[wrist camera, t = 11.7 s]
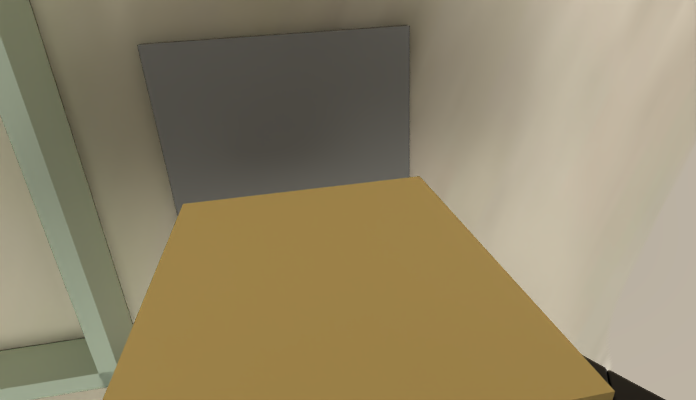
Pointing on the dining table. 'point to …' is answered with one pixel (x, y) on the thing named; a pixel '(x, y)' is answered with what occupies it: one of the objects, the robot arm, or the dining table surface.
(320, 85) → the rubber mat
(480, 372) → the letter block
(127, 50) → the dining table surface
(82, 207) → the sage tray
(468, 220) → the dining table surface
